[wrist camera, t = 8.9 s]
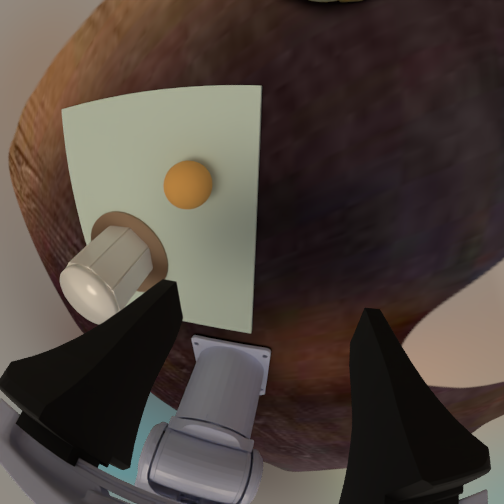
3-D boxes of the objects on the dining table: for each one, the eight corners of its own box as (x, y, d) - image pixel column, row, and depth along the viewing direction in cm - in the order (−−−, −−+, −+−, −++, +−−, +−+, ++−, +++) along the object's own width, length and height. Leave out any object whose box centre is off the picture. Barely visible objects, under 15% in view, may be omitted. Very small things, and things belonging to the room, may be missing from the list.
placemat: (251, 330, 25) (251, 333, 25) (107, 299, 27) (105, 301, 27) (262, 85, 14) (261, 85, 14) (64, 108, 16) (61, 109, 16)
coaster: (174, 296, 24) (173, 298, 24) (105, 281, 25) (103, 283, 25) (161, 214, 20) (159, 216, 19) (84, 208, 21) (82, 210, 20)
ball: (218, 200, 18) (203, 219, 16) (177, 197, 19) (157, 215, 16) (218, 156, 16) (201, 169, 14) (174, 154, 17) (152, 168, 14)
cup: (156, 282, 23) (122, 332, 18) (109, 272, 24) (74, 315, 19) (145, 229, 20) (101, 276, 15) (96, 223, 21) (51, 263, 16)
